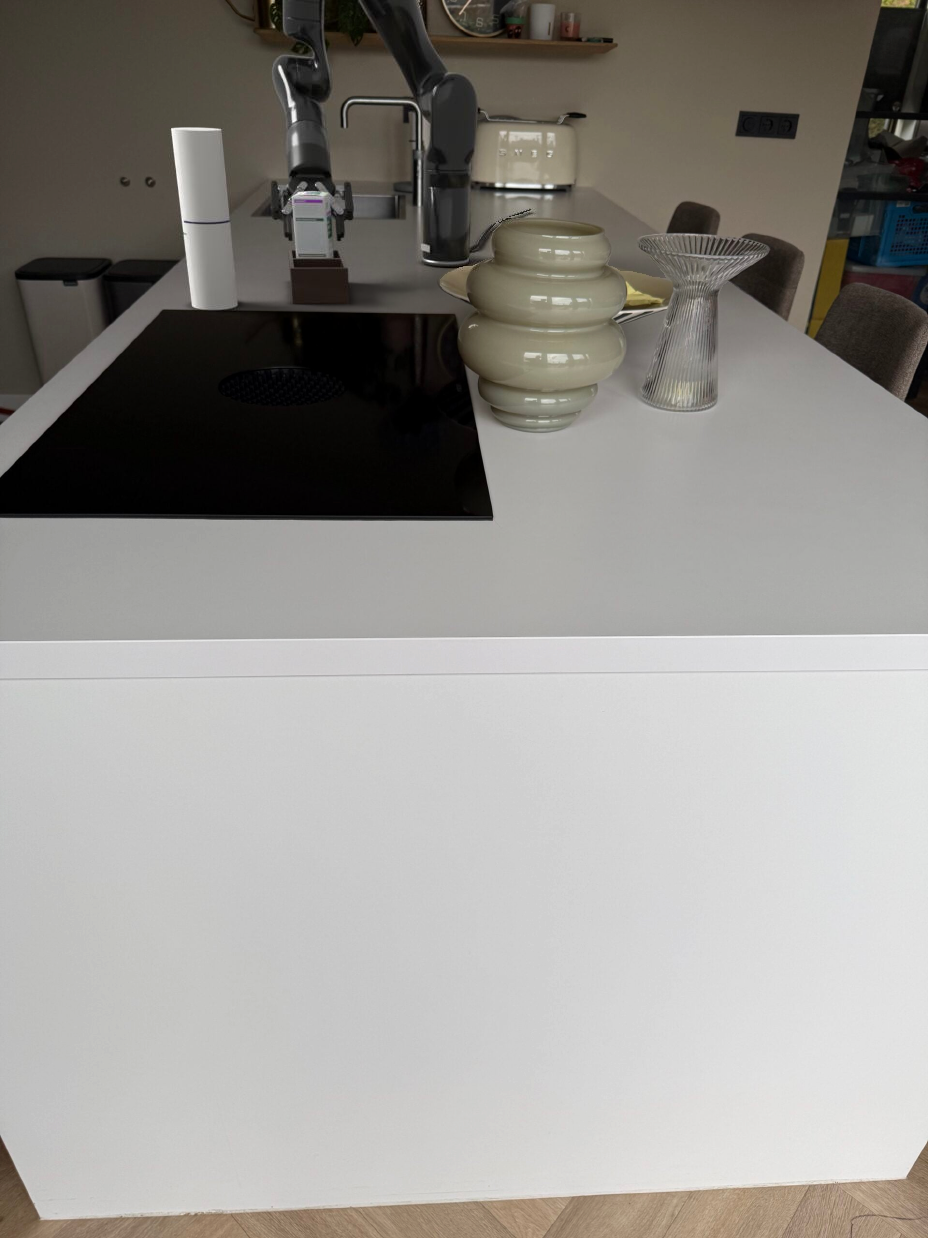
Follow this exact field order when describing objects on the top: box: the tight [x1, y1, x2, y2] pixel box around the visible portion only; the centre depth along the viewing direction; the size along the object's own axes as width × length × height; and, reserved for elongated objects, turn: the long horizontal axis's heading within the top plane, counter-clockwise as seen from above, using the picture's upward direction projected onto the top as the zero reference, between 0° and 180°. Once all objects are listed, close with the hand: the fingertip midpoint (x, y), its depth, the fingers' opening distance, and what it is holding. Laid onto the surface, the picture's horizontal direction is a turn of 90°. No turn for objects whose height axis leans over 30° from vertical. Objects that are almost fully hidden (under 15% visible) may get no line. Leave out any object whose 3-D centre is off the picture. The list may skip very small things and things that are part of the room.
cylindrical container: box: [170, 127, 239, 311], centre depth 141 cm, size 7×7×25 cm
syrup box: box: [292, 191, 334, 258], centre depth 158 cm, size 6×6×14 cm
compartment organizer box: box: [288, 249, 350, 305], centre depth 156 cm, size 18×9×6 cm, turn 10°
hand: (315, 237), depth 156 cm, fingers open, 7 cm apart
